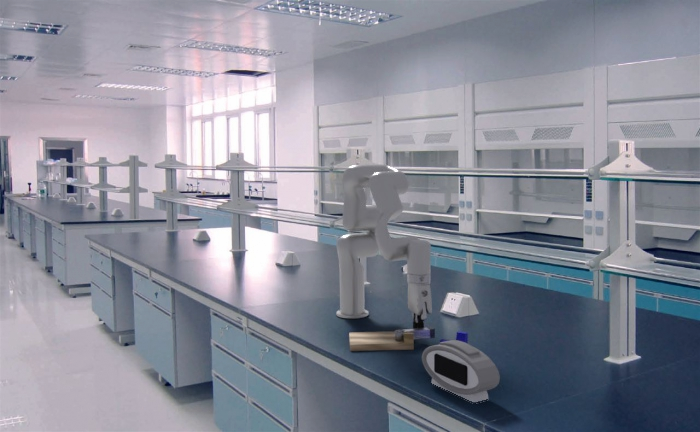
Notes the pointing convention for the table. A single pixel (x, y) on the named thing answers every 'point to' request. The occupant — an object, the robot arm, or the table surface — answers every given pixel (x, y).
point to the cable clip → (459, 337)
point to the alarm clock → (461, 369)
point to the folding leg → (415, 333)
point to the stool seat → (379, 341)
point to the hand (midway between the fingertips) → (418, 333)
